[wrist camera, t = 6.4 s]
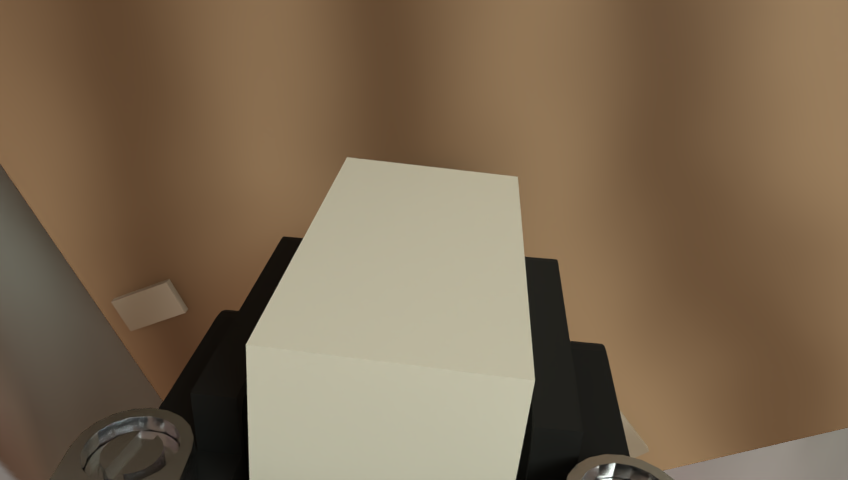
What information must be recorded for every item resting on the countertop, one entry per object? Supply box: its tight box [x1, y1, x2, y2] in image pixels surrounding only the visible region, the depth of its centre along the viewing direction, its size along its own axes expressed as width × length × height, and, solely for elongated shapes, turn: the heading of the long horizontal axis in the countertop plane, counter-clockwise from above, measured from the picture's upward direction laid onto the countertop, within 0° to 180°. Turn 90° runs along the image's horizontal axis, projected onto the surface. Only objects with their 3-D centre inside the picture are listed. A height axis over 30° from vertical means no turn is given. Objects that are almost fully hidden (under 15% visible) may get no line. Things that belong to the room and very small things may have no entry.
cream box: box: [246, 157, 535, 480], centre depth 14 cm, size 13×3×11 cm, turn 175°
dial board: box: [0, 0, 848, 471], centre depth 18 cm, size 20×20×1 cm
